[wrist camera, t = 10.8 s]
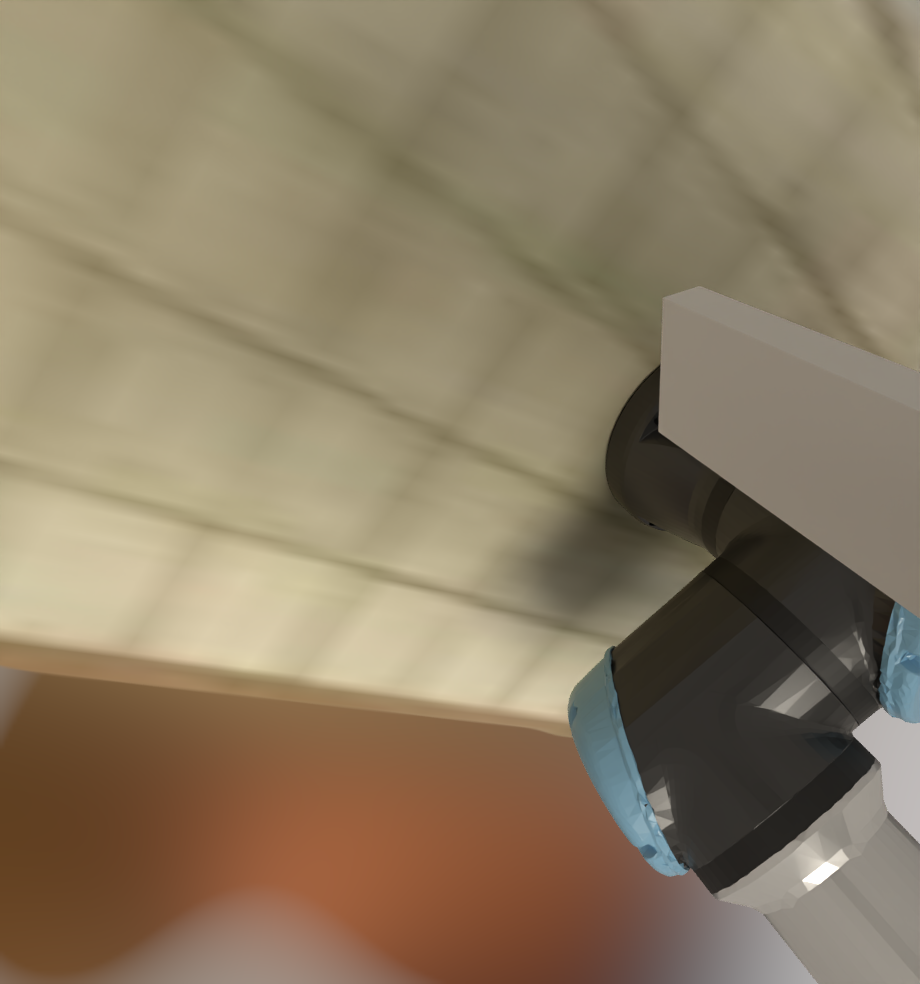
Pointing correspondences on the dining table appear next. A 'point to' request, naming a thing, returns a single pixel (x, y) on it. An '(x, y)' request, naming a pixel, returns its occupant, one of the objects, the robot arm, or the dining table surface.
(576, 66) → the dining table surface
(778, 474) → the robot arm
